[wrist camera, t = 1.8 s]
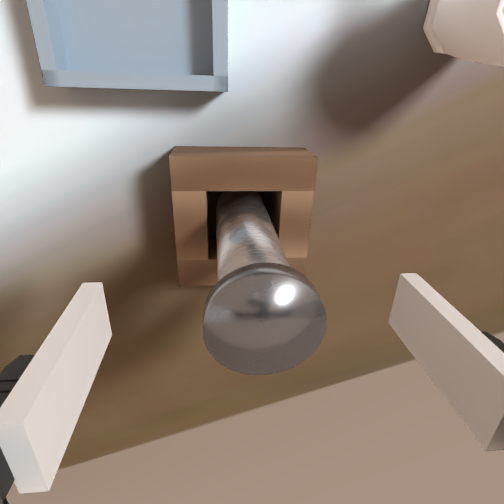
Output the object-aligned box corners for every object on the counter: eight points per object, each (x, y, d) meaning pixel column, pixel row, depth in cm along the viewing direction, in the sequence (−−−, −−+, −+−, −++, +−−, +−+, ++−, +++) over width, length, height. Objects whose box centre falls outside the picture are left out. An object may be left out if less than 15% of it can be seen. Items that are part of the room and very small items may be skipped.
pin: (206, 177, 24) (200, 277, 12) (273, 177, 25) (334, 274, 12) (208, 238, 26) (204, 378, 14) (269, 237, 27) (318, 372, 14)
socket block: (174, 146, 23) (168, 156, 20) (304, 147, 24) (318, 157, 21) (182, 263, 27) (178, 286, 24) (293, 260, 28) (303, 282, 25)
